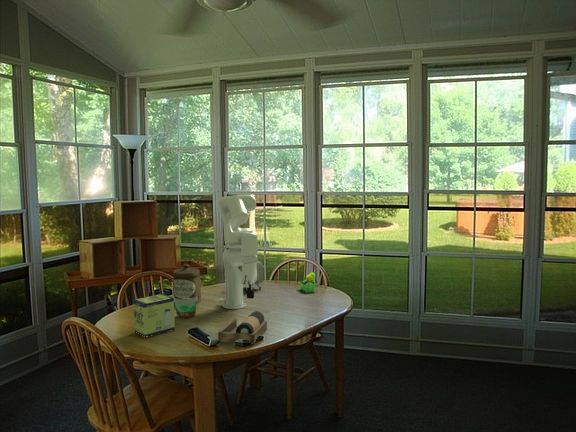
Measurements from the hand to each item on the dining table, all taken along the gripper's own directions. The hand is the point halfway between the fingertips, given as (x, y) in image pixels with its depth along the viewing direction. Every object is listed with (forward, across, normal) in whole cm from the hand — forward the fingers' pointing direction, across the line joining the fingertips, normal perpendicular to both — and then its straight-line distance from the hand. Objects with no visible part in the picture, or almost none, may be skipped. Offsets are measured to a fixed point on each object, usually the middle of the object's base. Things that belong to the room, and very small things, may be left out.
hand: (250, 297), depth 223 cm
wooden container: (+14, -36, -49) cm, 63 cm away
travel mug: (+10, -1, +3) cm, 10 cm away
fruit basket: (+14, -75, +13) cm, 78 cm away
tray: (+14, +11, 0) cm, 18 cm away
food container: (+14, -9, -37) cm, 41 cm away
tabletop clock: (+14, -71, -23) cm, 76 cm away
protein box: (+14, +14, -42) cm, 47 cm away
